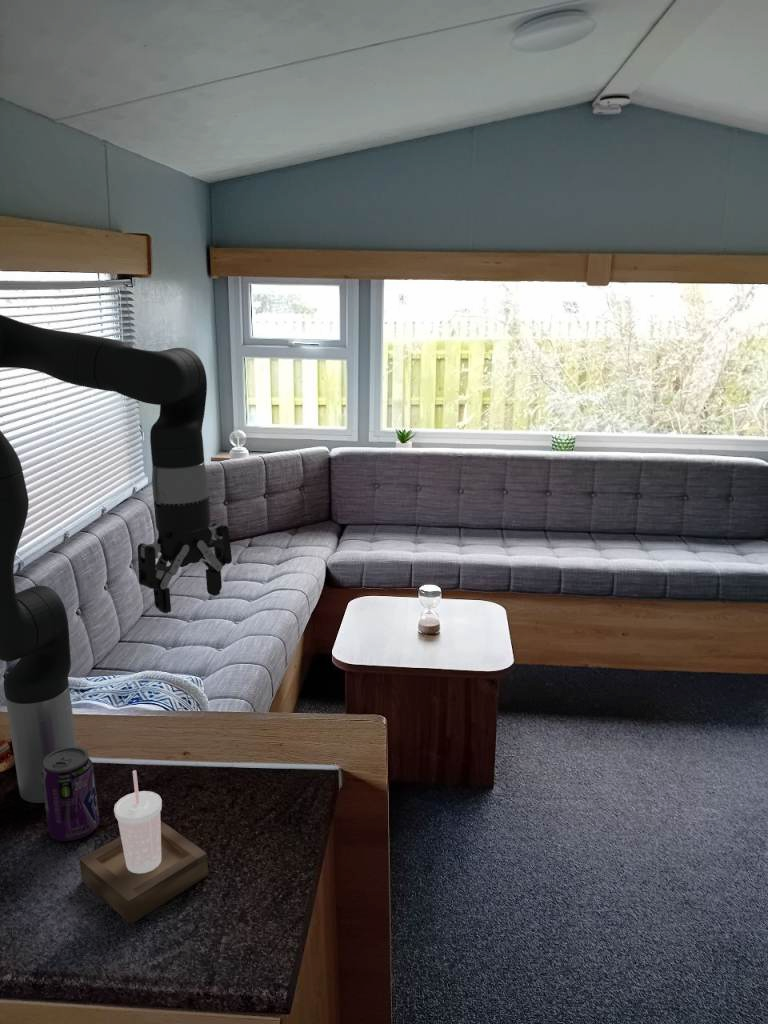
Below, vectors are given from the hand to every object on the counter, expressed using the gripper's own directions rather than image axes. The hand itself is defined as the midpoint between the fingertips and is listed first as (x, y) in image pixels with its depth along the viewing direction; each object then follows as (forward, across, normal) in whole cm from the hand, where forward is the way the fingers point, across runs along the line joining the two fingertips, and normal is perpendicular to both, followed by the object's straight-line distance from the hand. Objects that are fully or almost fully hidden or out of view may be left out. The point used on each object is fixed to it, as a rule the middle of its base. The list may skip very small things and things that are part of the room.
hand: (189, 602), depth 123 cm
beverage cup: (+31, +16, +8) cm, 36 cm away
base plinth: (+33, +16, +8) cm, 38 cm away
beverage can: (+33, +17, -9) cm, 38 cm away
